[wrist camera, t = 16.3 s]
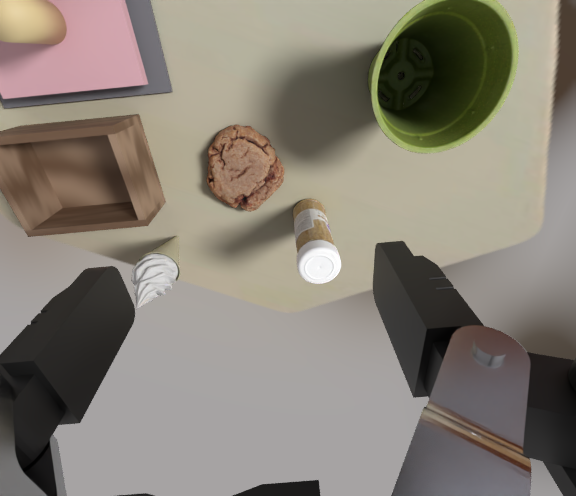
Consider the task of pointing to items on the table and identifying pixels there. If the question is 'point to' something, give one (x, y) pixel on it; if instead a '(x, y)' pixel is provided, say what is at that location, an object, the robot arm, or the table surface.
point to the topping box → (80, 175)
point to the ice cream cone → (156, 272)
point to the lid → (66, 47)
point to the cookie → (243, 168)
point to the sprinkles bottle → (314, 243)
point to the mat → (149, 54)
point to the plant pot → (444, 73)
